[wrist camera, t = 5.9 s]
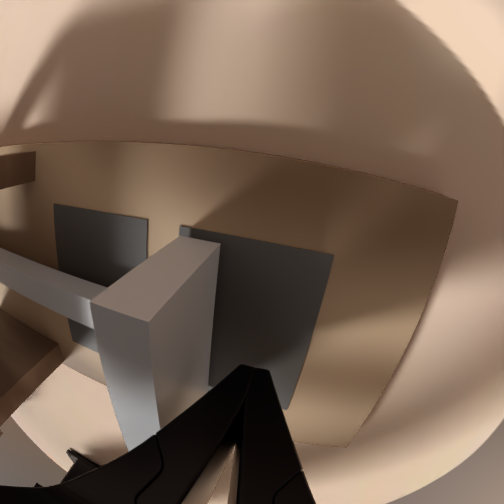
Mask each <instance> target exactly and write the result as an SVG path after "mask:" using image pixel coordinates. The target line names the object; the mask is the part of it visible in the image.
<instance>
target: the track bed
mask: <svg viewBox="0 0 504 504" xmlns="http://www.w3.org/2000/svg"><path fill="white" fill-rule="evenodd" d="M29 151H36V166H35V181H33V182H29V183H24V184H20V185H16V186H12V187H9V188H5V189H1V190H0V248H3V249H5V250H7V251H10V252H12V253H14V254H17V255H19V256H22V257H24V258H27V259H29V260H32V261H34V262H37V263H39V264H42V265H45V266H47V267H50V268H53V269H55V270H58V271H61V272H64V273H66V274H69V275H72V276H75V277H78V278H80V279H83V280H86V281H89V282H92V283H95V284H98V285H101V286H104V287H107V288H108V287H109V286H111V285H112V284H113V283H115V282H116V281H117V280H119V279H120V278H121V277H123V276H124V275H126V274H127V273H128V272H130V271H131V270H132V269H134V268H135V267H136V266H138V265H139V264H141V263H142V262H143V261H145V260H146V259H148V258H149V257H150V256H152V255H153V254H155V253H156V252H157V251H159V250H160V249H162V248H163V247H165V246H166V245H167V244H169V243H170V242H172V241H173V240H175V239H176V238H177V237H179V236H184V237H189V238H194V239H200V240H205V241H210V242H215V243H220V244H221V245H220V254H219V264H218V273H217V284H216V294H215V305H214V316H213V328H212V340H211V352H210V366H209V380H208V391H209V390H211V389H212V388H213V387H214V386H215V385H217V384H218V383H219V382H220V381H221V380H222V379H224V378H225V377H226V376H227V375H228V374H229V373H231V372H232V371H233V370H234V369H235V368H236V367H237V366H239V365H240V364H244V365H248V366H253V367H254V368H256V367H257V368H262V369H267V370H269V371H270V373H271V376H272V379H273V382H274V386H275V389H276V392H277V395H278V398H279V401H280V404H281V407H282V410H283V413H284V416H285V419H286V422H287V425H288V428H289V431H290V434H291V437H292V440H293V442H300V443H307V444H316V445H325V446H336V447H347V445H348V444H349V443H350V441H351V440H352V438H353V437H354V436H355V434H356V433H357V431H358V430H359V428H360V427H361V425H362V424H363V422H364V421H365V419H366V418H367V416H368V415H369V413H370V412H371V410H372V408H373V407H374V405H375V404H376V402H377V400H378V399H379V397H380V395H381V394H382V392H383V390H384V388H385V387H386V385H387V383H388V381H389V380H390V378H391V376H392V374H393V372H394V371H395V369H396V367H397V365H398V363H399V361H400V359H401V357H402V355H403V353H404V351H405V349H406V347H407V345H408V343H409V341H410V339H411V337H412V335H413V332H414V330H415V328H416V326H417V324H418V321H419V319H420V317H421V314H422V312H423V310H424V307H425V305H426V302H427V300H428V297H429V295H430V292H431V290H432V287H433V284H434V281H435V279H436V276H437V273H438V270H439V267H440V264H441V261H442V258H443V255H444V252H445V249H446V245H447V242H448V239H449V235H450V232H451V228H452V224H453V221H454V217H455V213H456V209H457V204H458V201H457V200H454V199H451V198H449V197H446V196H444V195H441V194H437V193H434V192H431V191H428V190H425V189H421V188H418V187H414V186H411V185H408V184H404V183H400V182H397V181H393V180H389V179H386V178H382V177H378V176H374V175H370V174H366V173H361V172H357V171H353V170H348V169H344V168H339V167H335V166H330V165H325V164H320V163H315V162H310V161H305V160H299V159H293V158H288V157H282V156H275V155H269V154H262V153H256V152H248V151H241V150H233V149H224V148H215V147H206V146H195V145H183V144H169V143H152V142H126V141H73V142H49V143H33V144H21V145H10V146H1V147H0V155H4V154H10V153H17V152H29ZM0 308H1V309H2V310H4V311H5V312H7V313H8V314H10V315H11V316H13V317H14V318H16V319H17V320H19V321H21V322H22V323H24V324H25V325H27V326H29V327H30V328H32V329H34V330H35V331H37V332H39V333H40V334H42V335H44V336H46V337H47V338H49V339H51V340H53V341H55V342H57V343H58V344H59V346H60V349H61V353H62V356H63V359H64V362H63V364H64V365H66V366H68V367H70V368H72V369H74V370H76V371H77V372H79V373H81V374H83V375H85V376H87V377H89V378H91V379H93V380H95V381H97V382H99V383H102V384H104V385H106V386H107V384H106V380H105V376H104V372H103V368H102V364H101V360H100V355H99V351H98V346H97V341H96V336H95V331H94V329H93V328H90V327H88V326H85V325H83V324H81V323H79V322H76V321H74V320H72V319H70V318H67V317H65V316H63V315H61V314H59V313H57V312H55V311H53V310H51V309H49V308H47V307H44V306H42V305H41V304H39V303H37V302H35V301H33V300H31V299H29V298H27V297H25V296H23V295H21V294H20V293H18V292H16V291H14V290H12V289H11V288H9V287H7V286H5V285H4V284H2V283H0Z"/></svg>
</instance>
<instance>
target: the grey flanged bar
mask: <svg viewBox="0 0 504 504" xmlns="http://www.w3.org/2000/svg"><path fill="white" fill-rule="evenodd" d="M220 245H221V244H220V243H215V242H210V241H205V240H200V239H194V238H189V237H184V236H179V237H177V238H176V239H175V240H173V241H172V242H170V243H169V244H167V245H166V246H165V247H163V248H162V249H160V250H159V251H157V252H156V253H155V254H153V255H152V256H150V257H149V258H148V259H146V260H145V261H143V262H142V263H141V264H139V265H138V266H136V267H135V268H134V269H132V270H131V271H130V272H128V273H127V274H126V275H124V276H123V277H121V278H120V279H119V280H117V281H116V282H115V283H113V284H112V285H111V286H109V287H108V288H107V287H104V286H101V285H98V284H95V283H92V282H89V281H86V280H83V279H80V278H78V277H75V276H72V275H69V274H66V273H64V272H61V271H58V270H55V269H53V268H50V267H47V266H45V265H42V264H39V263H37V262H34V261H32V260H29V259H27V258H24V257H22V256H19V255H17V254H14V253H12V252H10V251H7V250H5V249H3V248H0V283H2V284H4V285H5V286H7V287H9V288H11V289H12V290H14V291H16V292H18V293H20V294H21V295H23V296H25V297H27V298H29V299H31V300H33V301H35V302H37V303H39V304H41V305H42V306H44V307H47V308H49V309H51V310H53V311H55V312H57V313H59V314H61V315H63V316H65V317H67V318H70V319H72V320H74V321H76V322H79V323H81V324H83V325H85V326H88V327H90V328H93V329H94V331H95V336H96V341H97V346H98V351H99V355H100V360H101V364H102V368H103V372H104V376H105V380H106V384H107V387H108V391H109V395H110V398H111V401H112V405H113V408H114V411H115V414H116V417H117V420H118V423H119V426H120V429H121V432H122V435H123V438H124V440H125V443H126V446H127V448H128V451H130V450H132V449H133V448H135V447H136V446H138V445H139V444H141V443H142V442H144V441H145V440H147V439H148V438H149V437H151V436H152V435H156V432H158V431H159V430H160V429H162V428H163V427H164V426H165V425H167V424H168V423H169V422H171V421H172V420H173V419H175V418H176V417H177V416H178V415H180V414H181V413H182V412H184V411H185V410H186V409H187V408H189V407H190V406H191V405H192V404H194V403H195V402H196V401H197V400H198V399H200V398H201V397H202V396H203V395H205V394H206V393H207V392H208V380H209V366H210V352H211V340H212V328H213V316H214V305H215V294H216V284H217V273H218V264H219V254H220Z"/></svg>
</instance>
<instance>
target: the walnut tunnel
mask: <svg viewBox="0 0 504 504" xmlns="http://www.w3.org/2000/svg"><path fill="white" fill-rule="evenodd" d="M35 166H36V151H29V152H17V153H10V154H4V155H0V190H1V189H5V188H9V187H12V186H16V185H20V184H24V183H29V182H33V181H35ZM63 362H64V359H63V356H62V353H61V349H60V346H59V344H58V343H57V342H55V341H53V340H51V339H49V338H47V337H46V336H44V335H42V334H40V333H39V332H37V331H35V330H34V329H32V328H30V327H29V326H27V325H25V324H24V323H22V322H21V321H19V320H17V319H16V318H14V317H13V316H11V315H10V314H8V313H7V312H5V311H4V310H2V309H1V308H0V426H1V425H2V424H3V423H4V422H5V421H6V420H7V419H8V418H9V416H11V414H12V413H13V412H14V411H15V410H16V409H17V408H18V407H19V406H20V405H21V404H22V403H23V402H24V401H25V400H26V399H27V398H28V397H29V396H30V395H31V394H32V393H33V392H34V390H35V389H36V388H37V387H38V386H39V385H40V384H41V383H42V382H43V381H44V380H45V379H46V378H47V377H48V376H49V375H50V374H51V373H52V372H53V371H54V370H55V369H56V368H57V367H59V366H60V365H61V364H62V363H63ZM2 434H3V433H2V432H1V430H0V436H1V435H2Z"/></svg>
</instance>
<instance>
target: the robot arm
mask: <svg viewBox="0 0 504 504" xmlns="http://www.w3.org/2000/svg"><path fill="white" fill-rule="evenodd" d="M235 444H236V445H235ZM234 446H235V452H234V460H233V467H232V475H231V482H230V490H229V497H228V504H316V502H315V500H314V498H313V495H312V493H311V490H310V488H309V485H308V483H307V480H306V477H305V474H304V472H303V471H302V466H301V463H300V460H299V457H298V454H297V451H296V448H295V446H294V443H293V440H292V437H291V434H290V431H289V428H288V425H287V422H286V419H285V416H284V413H283V410H282V407H281V404H280V401H279V398H278V395H277V392H276V389H275V386H274V382H273V379H272V376H271V373H270V371H269V370H267V369H262V368H257V367H256V368H254V367H253V366H248V365H244V364H240V365H239V366H237V367H236V368H235V369H234V370H233V371H232V372H231V373H229V374H228V375H227V376H226V377H225V378H224V379H222V380H221V381H220V382H219V383H218V384H217V385H215V386H214V387H213V388H212V389H211V390H209V391H208V392H207V393H206V394H205V395H203V396H202V397H201V398H200V399H198V400H197V401H196V402H195V403H194V404H192V405H191V406H190V407H189V408H187V409H186V410H185V411H184V412H182V413H181V414H180V415H178V416H177V417H176V418H175V419H173V420H172V421H171V422H169V423H168V424H167V425H165V426H164V427H163V428H162V429H160V430H159V431H158V432H156V435H152V436H151V437H149V438H148V439H147V440H145V441H144V442H142V443H141V444H139V445H138V446H136V447H135V448H133V449H132V450H130V451H129V452H127V453H126V454H124V455H122V456H120V457H118V458H117V459H115V460H113V461H111V462H109V463H107V464H105V465H103V466H101V467H98V466H96V465H94V464H93V463H91V462H89V461H87V460H86V459H84V458H82V457H80V456H79V455H77V454H75V453H74V452H72V451H71V450H67V452H66V453H67V454H68V456H69V457H70V458H71V460H72V461H73V463H74V464H73V465H72V467H71V468H70V470H69V471H68V472H67V474H66V475H65V477H64V478H63V480H62V481H61V483H60V484H58V485H54V486H49V487H43V486H41V485H39V484H38V483H36V485H35V486H34V487H13V486H1V485H0V504H207V503H208V501H209V499H210V497H211V495H212V493H213V491H214V489H215V487H216V485H217V483H218V481H219V479H220V477H221V474H222V472H223V470H224V468H225V466H226V464H227V462H228V459H229V457H230V455H231V453H232V451H233V448H234Z"/></svg>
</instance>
